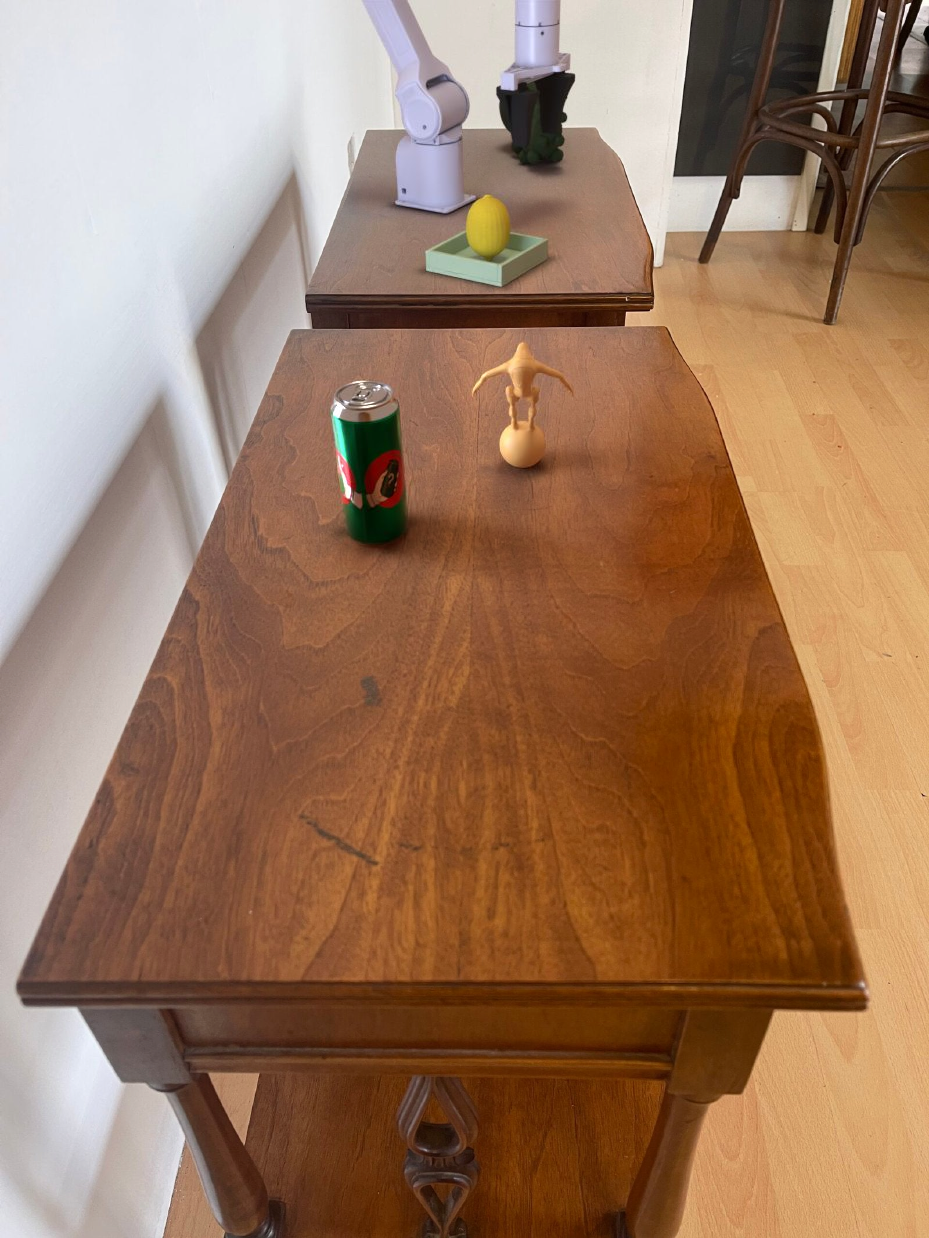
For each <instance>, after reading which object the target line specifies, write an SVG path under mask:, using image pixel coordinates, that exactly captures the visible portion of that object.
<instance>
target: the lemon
mask: <svg viewBox="0 0 929 1238" xmlns="http://www.w3.org/2000/svg"><path fill="white" fill-rule="evenodd" d="M466 216H467V217H466V220H465V230H466V234H467V240H468V243H469V245H470V247H471V248H472V250H473V251H474V252H475V253H477V254H478V255H480V256H483V257H484V258H485V259H486V260H487V261H491V260H492V259H493V258H494V256H496V255H498V254H500V253H501V252H502V251H503V250H504V249H505V248H506V246H507V244H508V242H509V238H510V232H512V231H511V228H512V226H511V218H510V215H509V211H508V209H507V207H506V205H505V204H504V202H502V201H501V200H500V199H498V198H496V197H494V196H492V194H489V193H487V194H484V195H483V196H482V197H481V198H479V199H476V200H475V201H474V203H472V205H470V208H469V210H468V213H467V215H466Z"/></svg>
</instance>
